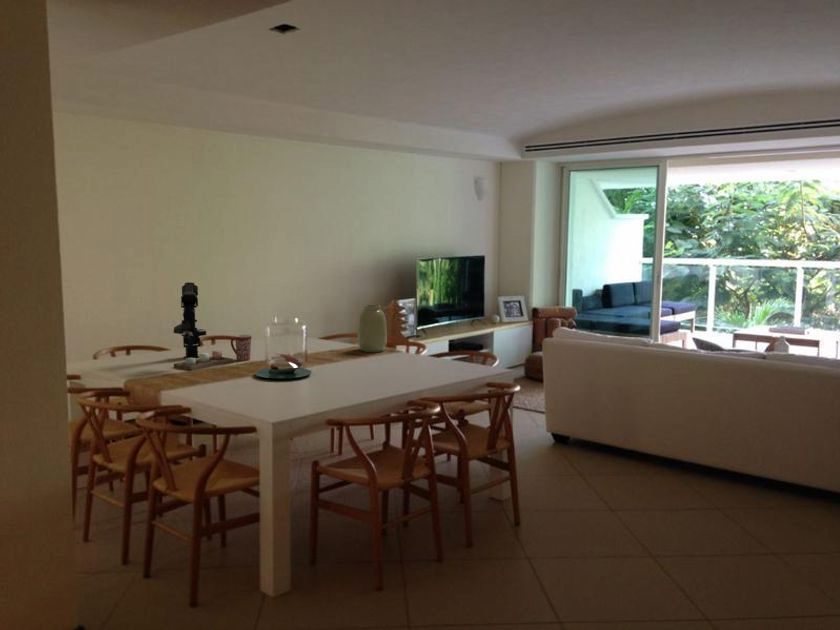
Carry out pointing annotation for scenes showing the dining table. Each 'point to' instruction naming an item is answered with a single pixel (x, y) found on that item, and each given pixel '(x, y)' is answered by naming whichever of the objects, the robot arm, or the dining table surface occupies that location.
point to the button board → (203, 364)
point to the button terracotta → (216, 355)
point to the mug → (242, 347)
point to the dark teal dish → (284, 370)
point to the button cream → (203, 357)
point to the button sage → (190, 361)
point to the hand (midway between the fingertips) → (190, 348)
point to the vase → (372, 329)
